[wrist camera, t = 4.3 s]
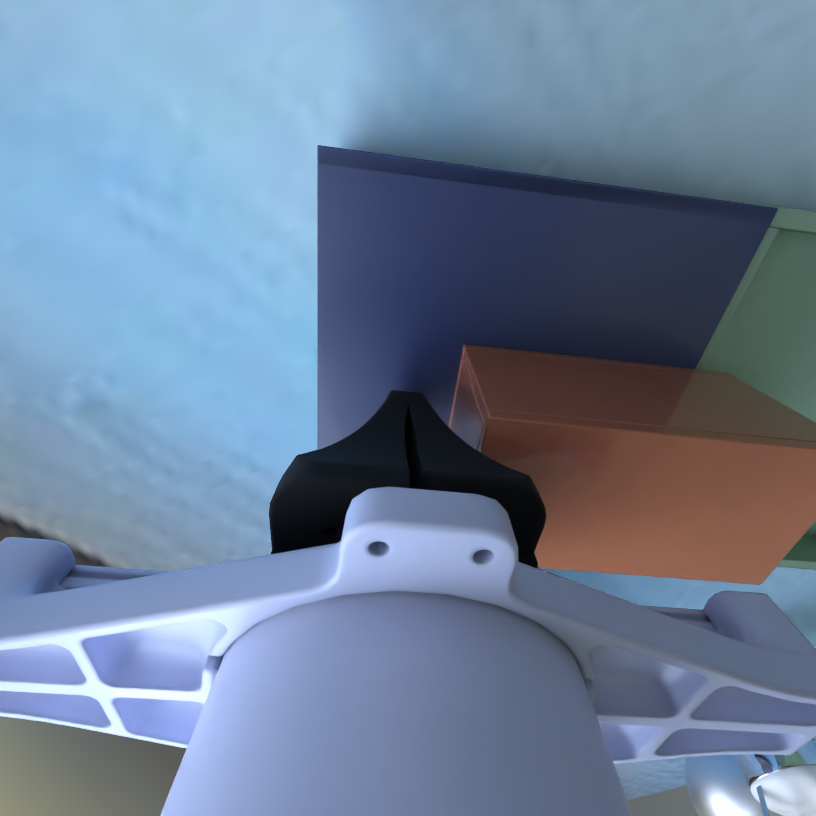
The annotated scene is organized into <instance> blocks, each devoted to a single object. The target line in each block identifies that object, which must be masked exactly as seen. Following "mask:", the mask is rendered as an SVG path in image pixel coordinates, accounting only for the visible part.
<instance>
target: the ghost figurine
mask: <svg viewBox="0 0 816 816" xmlns="http://www.w3.org/2000/svg"><path fill="white" fill-rule="evenodd" d="M685 778H686V784H687V788H688V791H689V795H690V798H691V800H692V803H693V805H694V807H695V809H696V811H697V813H698V815H699V816H764V814H763V811H762V807H761V804H760V802H758V801H757V800H756V799H755V798H754V796H753V795H752V793H751V790H750V788H749V786H748V784H747V782H746V780H745V778H744V776H743V774H742V772H741V770H740V768H739V766H738V764H737V762H736V760H735V758H734V756H733V755H710V756H696V757H686V759H685ZM768 811H769V815H770V816H783V815H781V814H778V813H775V812H773V811H771V810H769V809H768Z"/></svg>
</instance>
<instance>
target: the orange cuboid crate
mask: <svg viewBox="0 0 816 816" xmlns="http://www.w3.org/2000/svg"><path fill="white" fill-rule="evenodd" d="M448 427H449V428H450V429H451V430H452V431H453V432H454V433H455V434H456V435H457V436H459V437H460V438H461V439H462V440H463V441H465V442H466V443H467V444H469V445H470V446H471V447H473V448H474V449H476V450H477V451H479V452H480V453H482V454H483V455H485V456H487V457H489V458H490V459H492V460H494V461H496V462H498V463H500V464H502V465H504V466H506V467H509V468H511V469H514V470H516V471H519V472H522V473H524V474H527V475H529V476H530V477H531V479H532V481H533V483H534V484H535V486H536V488H537V490H538V492H539V494H540V496H541V499H542V501H543V503H544V506H545V510H546V521H545V526H544V529H543V531H542V534H541V536H540V539H539V541H538V544H537V546H536V549H535V552H534V553H535V556H536V559H537V562H538V567H537V568H548V569H561V570H574V571H587V572H600V573H614V574H627V575H640V576H653V577H666V578H679V579H692V580H705V581H718V582H732V583H745V584H758V585H760V584H762V583H763V581H764V580H765V579H766V578H767V577H768V576H769V574H770V573H771V572H772V571H773V570H774V569H775V567H776V566H777V565H778V564H779V563H780V562H781V560H782V559H783V558H784V557H785V556H786V555H787V554H788V552H789V551H790V550H791V549H792V548H793V547H794V545H795V544H796V543H797V542H798V541H799V540H800V538H801V537H802V536H803V535H804V534H805V533H806V531H807V530H808V529H809V528H810V527H811V526H812V525H813V523H814V522H815V521H816V422H814V421H812V420H810V419H809V418H807V417H805V416H803V415H802V414H800V413H798V412H796V411H794V410H793V409H791V408H789V407H787V406H786V405H784V404H782V403H780V402H779V401H777V400H775V399H773V398H771V397H770V396H768V395H766V394H764V393H763V392H761V391H759V390H757V389H755V388H754V387H752V386H750V385H748V384H747V383H745V382H743V381H741V380H740V379H738V378H736V377H734V376H732V375H731V374H729V373H727V372H719V371H710V370H700V369H691V368H681V367H672V366H663V365H653V364H644V363H635V362H625V361H616V360H607V359H597V358H588V357H578V356H569V355H560V354H550V353H541V352H532V351H522V350H513V349H504V348H494V347H485V346H475V345H466V344H464V345H463V349H462V354H461V359H460V365H459V370H458V375H457V380H456V386H455V391H454V396H453V401H452V407H451V412H450V417H449V422H448Z"/></svg>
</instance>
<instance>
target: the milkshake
mask: <svg viewBox="0 0 816 816" xmlns="http://www.w3.org/2000/svg"><path fill="white" fill-rule="evenodd" d="M733 756H734V758H735V760H736V762H737V764H738V766H739V768H740V770H741V772H742V774H743V776H744V778H745V780H746V782H747V784H748V786H749V788H750V790H751V793H752V795H753V796H754V798H755V799H756V800H757V801H758V802H760V804H761V807H762V811H763V814H764V816H770V815H769V811H768V809H769V810H771V811H773V812H775V813H778V814H781V815H783V816H816V743H815V742H814V741H813V740H811V741H809V742H808V743H806V744H805V745H804V746H802V747H801V748H800V749H798V750H797V751H795V752H794V753H793V754H791V755H765V754H736V755H733Z"/></svg>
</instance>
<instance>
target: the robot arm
mask: <svg viewBox="0 0 816 816" xmlns="http://www.w3.org/2000/svg"><path fill="white" fill-rule="evenodd" d="M269 519H270V530H271V541H272V552H271V555H265V556H259V557H253V558H248V559H242V560H236V561H230V562H225V563H219V564H213V565H208V566H202V567H196V568H190V569H185V570H179V571H173V572H167V571H153V570H139V569H126V568H112V567H98V566H84V565H76V563H75V559H74V556H73V553H72V551H71V550H70V549H69V547H68V546H67V545H65V544H63V543H61V542H59V541H54V540H45V539H31V538H18V537H6V538H5V539H4V540H2V541H1V542H0V716H6V717H13V718H21V719H29V720H37V721H43V722H49V723H55V724H62V725H68V726H73V727H79V728H84V729H89V730H94V731H99V732H105V733H110V734H115V735H120V736H126V737H131V738H136V739H141V740H146V741H152V742H157V743H162V744H167V745H172V746H178V747H183V748H187V750H186V752H185V755H184V757H183V760H182V762H181V765H180V767H179V770H178V772H177V775H176V777H175V780H174V782H173V785H172V788H171V790H170V792H169V795H168V797H167V800H166V802H165V805H164V808H163V810H162V812H161V815H160V816H632V813H631V811H630V808H629V805H628V802H627V799H626V797H625V794H624V791H623V788H622V785H621V783H620V780H619V777H618V774H617V772H616V769H615V766H614V764H620V763H631V762H641V761H651V760H662V759H672V758H683V757H696V756H710V755H736V754H765V755H791V754H793V753H794V752H795V751H797V750H798V749H800V748H801V747H802V746H804V745H805V744H806V743H808V742H809V741H811V740H812V739H813V738H815V737H816V649H815V648H814V646H813V645H812V644H811V643H810V642H809V641H808V640H807V639H806V638H805V636H804V635H803V634H802V633H801V632H800V631H799V630H798V629H797V627H796V626H795V625H794V624H793V623H792V622H791V621H790V620H789V619H788V617H787V616H786V615H785V614H784V613H783V612H782V611H781V610H780V608H779V607H778V606H777V605H776V604H775V603H774V602H773V601H772V599H771V598H770V597H769V596H768V595H767V594H763V593H751V592H737V591H722V592H719V593H716V594H715V595H713V596H712V597H711V598H710V599H709V600H708V602H707V603H706V605H705V607H704V609H703V610H695V609H681V608H668V607H654V606H640V605H637V604H634V603H631V602H628V601H626V600H623V599H620V598H617V597H614V596H612V595H609V594H606V593H603V592H601V591H598V590H595V589H592V588H590V587H587V586H584V585H581V584H579V583H576V582H573V581H570V580H567V579H565V578H562V577H559V576H556V575H554V574H551V573H548V572H545V571H543V570H540V569H537V567H538V562H537V559H536V556H535V553H534V552H535V549H536V546H537V544H538V541H539V539H540V536H541V534H542V531H543V529H544V526H545V521H546V510H545V506H544V503H543V501H542V499H541V496H540V494H539V492H538V490H537V488H536V486H535V484H534V483H533V481H532V479H531V477H530V476H529V475H527V474H524V473H522V472H519V471H516V470H514V469H511V468H509V467H506V466H504V465H502V464H500V463H498V462H496V461H494V460H492V459H490V458H489V457H487V456H485V455H483V454H482V453H480V452H479V451H477V450H476V449H474V448H473V447H471V446H470V445H469V444H467V443H466V442H465V441H463V440H462V439H461V438H460V437H459V436H457V435H456V434H455V433H454V432H453V431H452V430H451V429H450V428H449V427H448V426H447V425H446V424H445V423H444V422H443V420H442V419H441V418H440V417H439V415H438V414H437V413H436V412H435V410H434V409H433V407H432V406H431V405H430V403H429V402H428V400H427V399H426V397H425V396H424V394H423V393H417V392H407V391H397V390H392V391H390V392H389V394H388V396H387V398H386V400H385V401H384V403H383V404H382V405H381V407H380V408H379V409H378V410H377V412H376V413H375V414H374V415H373V416H372V417H371V418H370V419H369V420H368V421H367V422H366V423H365V424H364V425H363V426H361V427H360V428H359V429H358V430H356V431H355V432H354V433H352V434H351V435H349V436H347V437H346V438H344V439H342V440H340V441H338V442H336V443H334V444H332V445H329V446H327V447H324V448H322V449H319V450H315V451H312V452H308V453H304V454H300V455H297V456H296V457H295V459H294V460H293V462H292V463H291V464H290V466H289V467H288V469H287V470H286V472H285V473H284V475H283V476H282V478H281V480H280V482H279V484H278V486H277V488H276V491H275V493H274V495H273V498H272V500H271V502H270V509H269Z"/></svg>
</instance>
